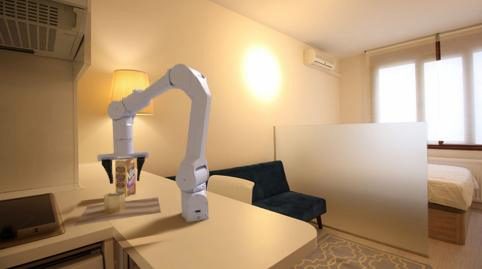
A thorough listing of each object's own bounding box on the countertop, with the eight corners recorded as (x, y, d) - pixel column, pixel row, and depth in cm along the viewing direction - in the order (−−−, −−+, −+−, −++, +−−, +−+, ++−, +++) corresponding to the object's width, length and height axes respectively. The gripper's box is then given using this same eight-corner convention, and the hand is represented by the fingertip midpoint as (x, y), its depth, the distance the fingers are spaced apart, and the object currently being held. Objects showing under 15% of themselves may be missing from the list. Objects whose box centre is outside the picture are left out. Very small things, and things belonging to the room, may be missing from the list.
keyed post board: (161, 217, 72) (160, 195, 72) (74, 230, 64) (73, 206, 63) (158, 201, 88) (157, 183, 87) (88, 210, 79) (87, 191, 79)
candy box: (127, 201, 88) (125, 160, 87) (115, 202, 88) (113, 160, 87) (137, 194, 97) (135, 157, 96) (126, 195, 97) (124, 157, 96)
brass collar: (125, 211, 73) (124, 195, 73) (103, 214, 71) (102, 198, 71) (125, 206, 78) (124, 191, 78) (105, 209, 76) (104, 193, 76)
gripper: (147, 138, 83) (149, 176, 83) (99, 140, 77) (101, 181, 78) (147, 138, 76) (149, 181, 77) (95, 141, 71) (97, 186, 71)
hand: (125, 181), depth 77 cm, fingers open, 7 cm apart
